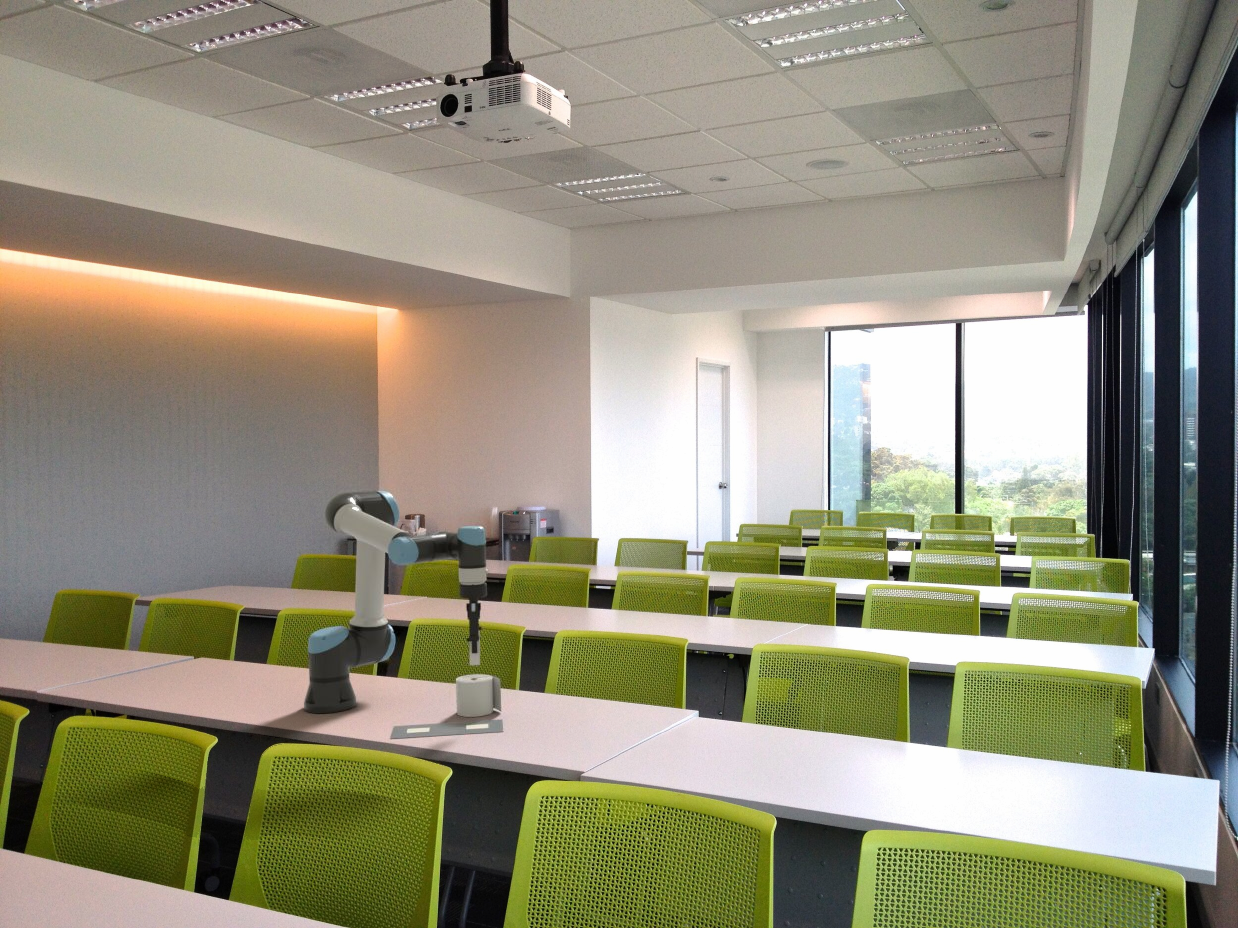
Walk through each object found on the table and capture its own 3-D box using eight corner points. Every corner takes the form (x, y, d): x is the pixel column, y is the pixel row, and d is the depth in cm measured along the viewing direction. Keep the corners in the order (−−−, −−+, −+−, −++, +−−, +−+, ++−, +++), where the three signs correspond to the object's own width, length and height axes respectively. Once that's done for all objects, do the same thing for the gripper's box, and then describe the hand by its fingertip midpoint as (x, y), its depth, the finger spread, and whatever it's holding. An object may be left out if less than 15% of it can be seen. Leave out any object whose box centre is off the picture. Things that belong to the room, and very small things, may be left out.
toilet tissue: (453, 710, 295) (452, 676, 295) (493, 705, 299) (492, 671, 299) (460, 719, 285) (459, 684, 285) (501, 714, 289) (501, 679, 289)
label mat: (390, 738, 267) (390, 738, 267) (394, 726, 279) (394, 725, 279) (503, 731, 271) (503, 730, 271) (502, 719, 283) (502, 718, 283)
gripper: (486, 588, 263) (489, 668, 264) (486, 576, 288) (488, 649, 289) (458, 589, 262) (460, 670, 263) (460, 577, 287) (462, 650, 288)
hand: (475, 659), depth 276 cm, fingers open, 13 cm apart
